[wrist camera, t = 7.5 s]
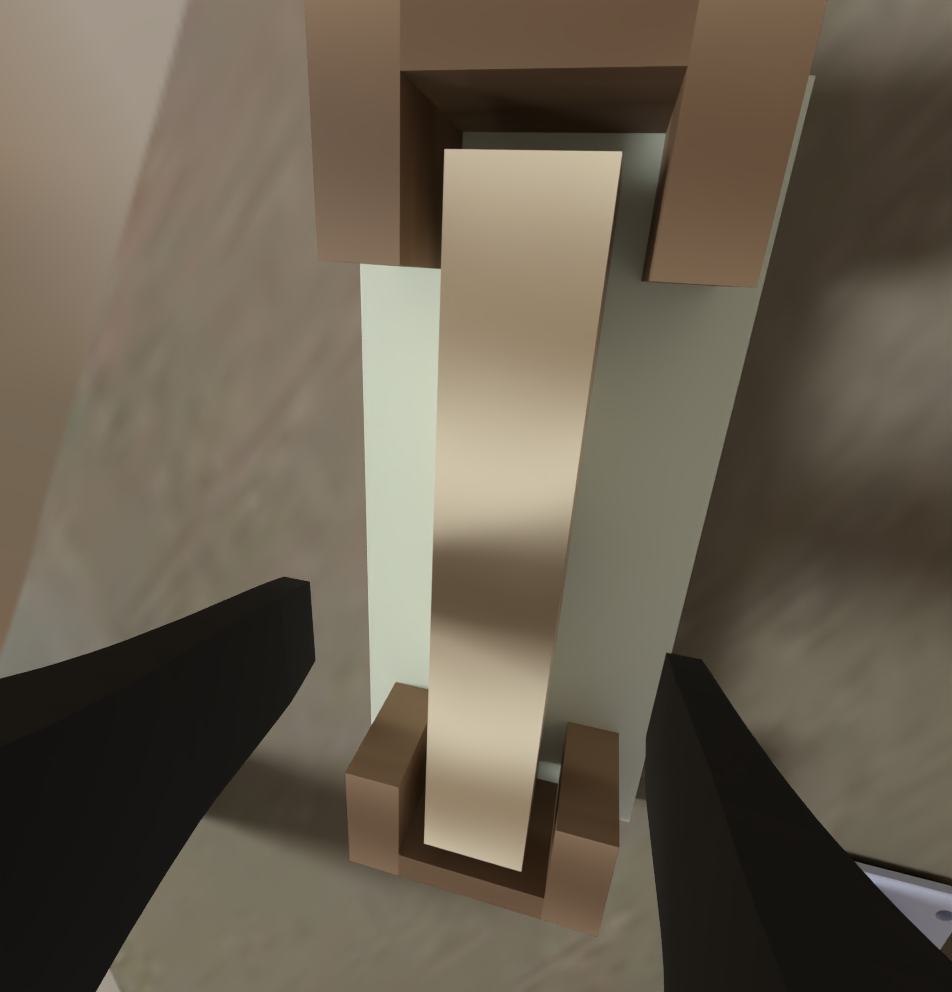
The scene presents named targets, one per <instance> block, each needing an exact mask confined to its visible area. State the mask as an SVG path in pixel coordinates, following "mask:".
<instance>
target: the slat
mask: <svg viewBox="0 0 952 992" xmlns="http://www.w3.org/2000/svg"><path fill="white" fill-rule="evenodd" d="M622 152H623V151H552V150H480V149H444V183H443V217H442V251H441V285H440V319H439V353H438V387H437V421H436V455H435V489H434V523H433V557H432V591H431V625H430V659H429V693H428V727H427V761H426V795H425V829H424V844H427V845H431V846H434V847H438V848H441V849H445V850H448V851H452V852H455V853H458V854H462V855H465V856H469V857H472V858H476V859H479V860H482V861H486V862H489V863H493V864H496V865H500V866H503V867H506V868H510V869H513V870H517V871H520V872H521V870H522V864H523V858H524V852H525V846H526V840H527V834H528V827H529V821H530V815H531V809H532V803H533V797H534V791H535V785H536V778H537V772H538V766H539V760H540V753H541V746H542V739H543V732H544V725H545V718H546V711H547V704H548V697H549V690H550V683H551V676H552V669H553V662H554V655H555V648H556V641H557V634H558V627H559V620H560V613H561V606H562V599H563V592H564V585H565V578H566V571H567V564H568V557H569V550H570V543H571V536H572V529H573V522H574V515H575V508H576V501H577V494H578V487H579V480H580V473H581V466H582V459H583V452H584V445H585V438H586V431H587V424H588V417H589V410H590V403H591V396H592V389H593V382H594V375H595V368H596V361H597V355H598V348H599V341H600V334H601V327H602V320H603V313H604V306H605V299H606V292H607V285H608V278H609V271H610V264H611V257H612V250H613V243H614V236H615V229H616V222H617V215H618V208H619V201H620V194H621V177H622Z"/></svg>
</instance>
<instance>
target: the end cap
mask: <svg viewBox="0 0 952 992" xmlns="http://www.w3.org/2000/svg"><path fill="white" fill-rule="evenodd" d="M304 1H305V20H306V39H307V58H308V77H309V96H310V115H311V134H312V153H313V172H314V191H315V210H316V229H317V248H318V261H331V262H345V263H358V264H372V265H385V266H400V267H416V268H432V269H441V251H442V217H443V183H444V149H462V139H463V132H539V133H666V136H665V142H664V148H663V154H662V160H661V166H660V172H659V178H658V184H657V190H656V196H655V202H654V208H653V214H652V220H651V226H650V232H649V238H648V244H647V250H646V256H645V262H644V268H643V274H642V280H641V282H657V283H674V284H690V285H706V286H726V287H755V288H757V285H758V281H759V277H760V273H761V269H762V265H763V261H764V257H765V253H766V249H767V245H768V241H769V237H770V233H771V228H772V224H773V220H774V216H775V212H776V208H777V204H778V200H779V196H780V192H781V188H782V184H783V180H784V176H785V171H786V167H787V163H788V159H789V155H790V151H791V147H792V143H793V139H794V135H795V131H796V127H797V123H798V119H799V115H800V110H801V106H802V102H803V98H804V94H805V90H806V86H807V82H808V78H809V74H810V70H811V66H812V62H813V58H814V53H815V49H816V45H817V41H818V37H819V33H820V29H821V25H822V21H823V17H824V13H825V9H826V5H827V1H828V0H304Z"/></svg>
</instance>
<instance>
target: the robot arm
mask: <svg viewBox="0 0 952 992" xmlns="http://www.w3.org/2000/svg"><path fill="white" fill-rule="evenodd" d="M314 662H315V648H314V634H313V620H312V606H311V592H310V582H308V581H303V580H298V579H293V578H288V577H282V578H279V579H276V580H273V581H270V582H267V583H265V584H262V585H260V586H257V587H255V588H252V589H250V590H248V591H245V592H243V593H241V594H238V595H236V596H234V597H231V598H229V599H227V600H224V601H222V602H220V603H217V604H215V605H212V606H210V607H208V608H205V609H203V610H201V611H198V612H196V613H194V614H191V615H189V616H187V617H184V618H182V619H179V620H177V621H174V622H172V623H169V624H167V625H164V626H161V627H159V628H156V629H154V630H151V631H149V632H146V633H143V634H141V635H138V636H136V637H133V638H131V639H128V640H125V641H123V642H120V643H117V644H114V645H112V646H109V647H106V648H103V649H100V650H97V651H94V652H91V653H88V654H85V655H82V656H79V657H75V658H72V659H69V660H66V661H63V662H60V663H56V664H53V665H50V666H46V667H43V668H39V669H35V670H32V671H28V672H24V673H20V674H16V675H13V676H9V677H5V678H1V679H0V992H96V990H97V988H98V987H99V985H100V984H101V982H102V980H103V978H104V977H105V975H106V973H107V971H108V969H109V968H110V966H111V964H112V963H113V961H114V959H115V957H116V956H117V954H118V952H119V951H120V949H121V947H122V945H123V944H124V942H125V940H126V938H127V937H128V935H129V933H130V932H131V930H132V928H133V927H134V925H135V923H136V922H137V920H138V918H139V917H140V915H141V914H142V912H143V910H144V909H145V907H146V905H147V904H148V902H149V900H150V899H151V897H152V896H153V894H154V892H155V891H156V889H157V887H158V886H159V884H160V882H161V881H162V879H163V878H164V876H165V874H166V873H167V871H168V870H169V868H170V867H171V865H172V863H173V862H174V860H175V859H176V857H177V856H178V854H179V853H180V851H181V849H182V848H183V846H184V845H185V843H186V842H187V840H188V839H189V837H190V836H191V834H192V832H193V831H194V829H195V828H196V826H197V825H198V823H199V822H200V820H201V819H202V818H203V816H204V815H205V813H206V812H207V811H208V809H209V808H210V806H211V805H212V804H213V802H214V801H215V800H216V798H217V797H218V796H219V794H220V793H221V792H222V790H223V789H224V788H225V787H226V785H227V784H228V783H229V782H230V780H231V779H232V778H233V776H234V775H235V774H236V773H237V771H238V770H239V769H240V767H241V766H242V765H243V764H244V762H245V761H246V760H247V759H248V757H249V756H250V755H251V753H252V752H253V751H254V750H255V748H256V747H257V746H258V745H259V743H260V742H261V741H262V739H263V738H264V737H265V736H266V734H267V733H268V732H269V730H270V729H271V728H272V726H273V725H274V724H275V723H276V721H277V720H278V719H279V717H280V716H281V715H282V713H283V712H284V711H285V709H286V708H287V707H288V705H289V704H290V703H291V701H292V700H293V698H294V696H295V695H296V693H297V691H298V690H299V688H300V686H301V685H302V683H303V681H304V680H305V678H306V676H307V674H308V673H309V671H310V669H311V667H312V665H313V664H314ZM645 775H646V801H647V811H648V820H649V829H650V838H651V847H652V856H653V865H654V874H655V883H656V892H657V901H658V910H659V919H660V927H661V938H662V952H663V965H664V992H952V961H951V960H950V959H949V958H948V957H947V956H945V955H944V954H943V953H942V952H941V951H940V949H941V948H942V946H943V945H944V943H945V942H946V940H947V939H948V937H949V936H950V934H951V933H952V886H949V885H945V884H942V883H938V882H934V881H930V880H926V879H922V878H918V877H914V876H910V875H906V874H902V873H898V872H895V871H891V870H887V869H883V868H879V867H875V866H871V865H867V864H863V863H859V862H855V861H854V860H853V859H852V858H851V857H850V856H849V855H848V854H847V853H846V852H845V851H844V849H843V848H842V847H841V846H840V845H839V844H838V843H837V842H836V841H835V840H834V838H833V837H832V836H831V835H830V834H829V833H828V831H827V830H826V829H825V828H824V827H823V826H822V824H821V823H820V822H819V821H818V820H817V819H816V817H815V816H814V815H813V814H812V812H811V811H810V810H809V809H808V808H807V806H806V805H805V804H804V803H803V801H802V800H801V799H800V798H799V796H798V795H797V794H796V793H795V791H794V790H793V789H792V788H791V786H790V785H789V784H788V782H787V781H786V780H785V779H784V777H783V776H782V775H781V773H780V772H779V771H778V769H777V768H776V767H775V765H774V764H773V763H772V761H771V760H770V758H769V757H768V756H767V754H766V753H765V752H764V750H763V749H762V747H761V746H760V745H759V743H758V742H757V741H756V739H755V738H754V736H753V735H752V734H751V732H750V731H749V729H748V728H747V726H746V725H745V724H744V722H743V721H742V719H741V718H740V716H739V715H738V713H737V712H736V710H735V709H734V707H733V706H732V704H731V703H730V701H729V700H728V698H727V697H726V695H725V694H724V692H723V691H722V689H721V688H720V686H719V685H718V683H717V682H716V680H715V679H714V677H713V675H712V674H711V672H710V671H709V669H708V668H707V666H706V665H705V664H704V662H703V661H702V660H701V659H696V658H691V657H686V656H681V655H676V654H671V653H666V656H665V660H664V664H663V668H662V672H661V676H660V680H659V684H658V689H657V693H656V697H655V701H654V705H653V709H652V713H651V717H650V721H649V726H648V730H647V734H646V763H645Z"/></svg>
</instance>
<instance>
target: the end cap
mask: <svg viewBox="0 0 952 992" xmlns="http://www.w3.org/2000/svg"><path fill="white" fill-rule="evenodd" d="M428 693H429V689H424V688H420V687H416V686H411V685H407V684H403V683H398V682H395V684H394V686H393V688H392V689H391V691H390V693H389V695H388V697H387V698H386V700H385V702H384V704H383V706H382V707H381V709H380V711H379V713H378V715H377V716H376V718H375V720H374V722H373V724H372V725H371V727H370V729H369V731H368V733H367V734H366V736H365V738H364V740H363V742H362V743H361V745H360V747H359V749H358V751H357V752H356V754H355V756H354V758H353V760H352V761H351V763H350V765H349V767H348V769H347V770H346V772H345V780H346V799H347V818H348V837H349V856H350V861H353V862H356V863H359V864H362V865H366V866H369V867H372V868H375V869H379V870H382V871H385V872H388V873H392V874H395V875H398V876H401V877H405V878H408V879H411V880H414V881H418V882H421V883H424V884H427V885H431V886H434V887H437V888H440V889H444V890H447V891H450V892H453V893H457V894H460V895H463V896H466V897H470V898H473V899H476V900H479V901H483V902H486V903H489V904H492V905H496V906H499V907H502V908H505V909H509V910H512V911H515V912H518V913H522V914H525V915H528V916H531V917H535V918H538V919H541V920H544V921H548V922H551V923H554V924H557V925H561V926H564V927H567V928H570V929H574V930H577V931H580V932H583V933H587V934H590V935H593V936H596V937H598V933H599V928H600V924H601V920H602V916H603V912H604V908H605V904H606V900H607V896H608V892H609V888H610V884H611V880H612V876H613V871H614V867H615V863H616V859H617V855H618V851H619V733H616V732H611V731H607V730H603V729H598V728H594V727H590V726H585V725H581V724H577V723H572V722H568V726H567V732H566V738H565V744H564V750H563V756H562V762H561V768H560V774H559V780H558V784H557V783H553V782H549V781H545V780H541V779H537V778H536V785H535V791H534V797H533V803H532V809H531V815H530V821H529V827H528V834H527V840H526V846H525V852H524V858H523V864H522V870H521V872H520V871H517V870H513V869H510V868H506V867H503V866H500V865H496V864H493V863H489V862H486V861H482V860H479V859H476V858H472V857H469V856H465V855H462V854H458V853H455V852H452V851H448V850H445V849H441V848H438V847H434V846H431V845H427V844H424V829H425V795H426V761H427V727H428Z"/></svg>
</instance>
